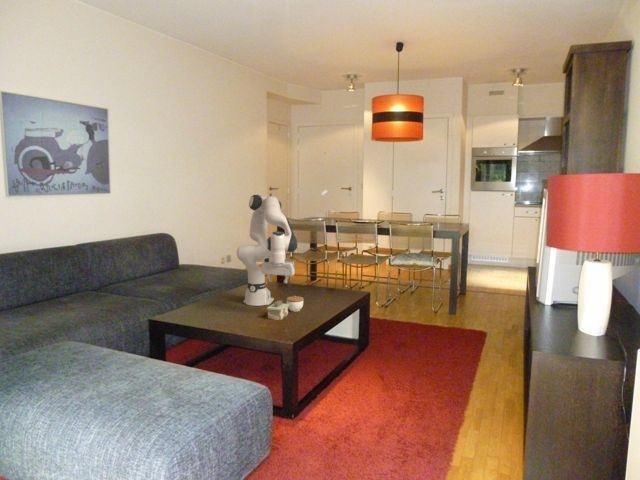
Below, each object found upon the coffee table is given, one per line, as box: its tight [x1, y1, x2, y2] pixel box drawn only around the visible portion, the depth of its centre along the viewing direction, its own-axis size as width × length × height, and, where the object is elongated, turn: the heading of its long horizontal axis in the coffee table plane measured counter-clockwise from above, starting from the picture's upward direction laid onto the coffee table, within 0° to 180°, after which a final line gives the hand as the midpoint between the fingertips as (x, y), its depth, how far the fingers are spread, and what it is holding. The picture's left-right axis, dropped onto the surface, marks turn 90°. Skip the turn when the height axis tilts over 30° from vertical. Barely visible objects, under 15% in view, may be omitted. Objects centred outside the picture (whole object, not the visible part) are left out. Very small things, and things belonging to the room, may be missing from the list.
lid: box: [266, 300, 289, 311], centre depth 295 cm, size 13×9×4 cm
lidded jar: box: [286, 295, 305, 312], centre depth 312 cm, size 11×11×9 cm
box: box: [267, 306, 289, 321], centre depth 296 cm, size 12×8×6 cm, turn 162°
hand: (277, 282), depth 294 cm, fingers open, 8 cm apart
